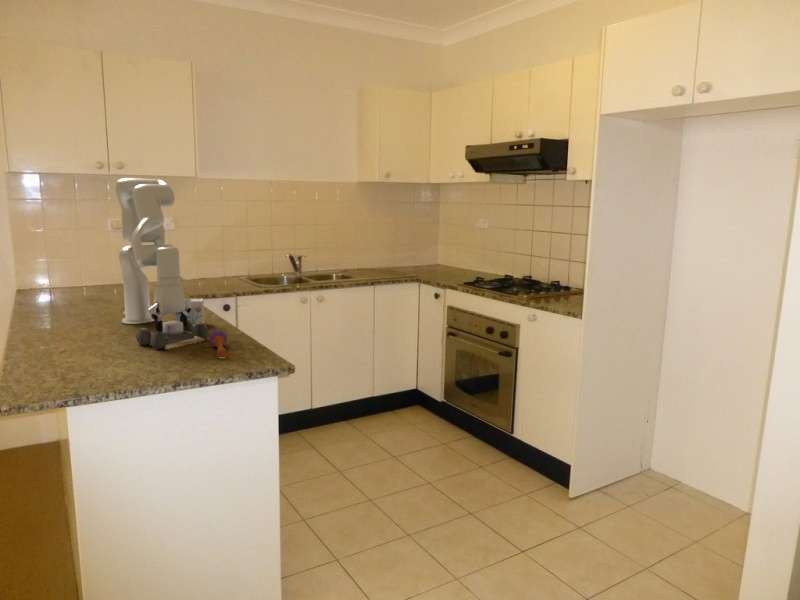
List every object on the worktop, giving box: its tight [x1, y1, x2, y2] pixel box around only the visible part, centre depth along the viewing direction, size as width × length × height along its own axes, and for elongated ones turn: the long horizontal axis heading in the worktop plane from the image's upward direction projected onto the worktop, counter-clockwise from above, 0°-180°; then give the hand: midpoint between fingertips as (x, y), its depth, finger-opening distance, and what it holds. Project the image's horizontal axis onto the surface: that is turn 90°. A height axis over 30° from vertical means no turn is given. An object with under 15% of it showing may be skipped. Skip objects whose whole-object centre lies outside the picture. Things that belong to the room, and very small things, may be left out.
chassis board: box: [135, 320, 210, 350], centre depth 206 cm, size 16×19×6 cm
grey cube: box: [162, 319, 184, 338], centre depth 206 cm, size 6×6×6 cm
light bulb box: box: [174, 298, 205, 326], centre depth 232 cm, size 11×7×11 cm, turn 105°
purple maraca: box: [208, 329, 229, 358], centre depth 195 cm, size 6×6×20 cm
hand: (171, 329), depth 206 cm, fingers open, 9 cm apart
